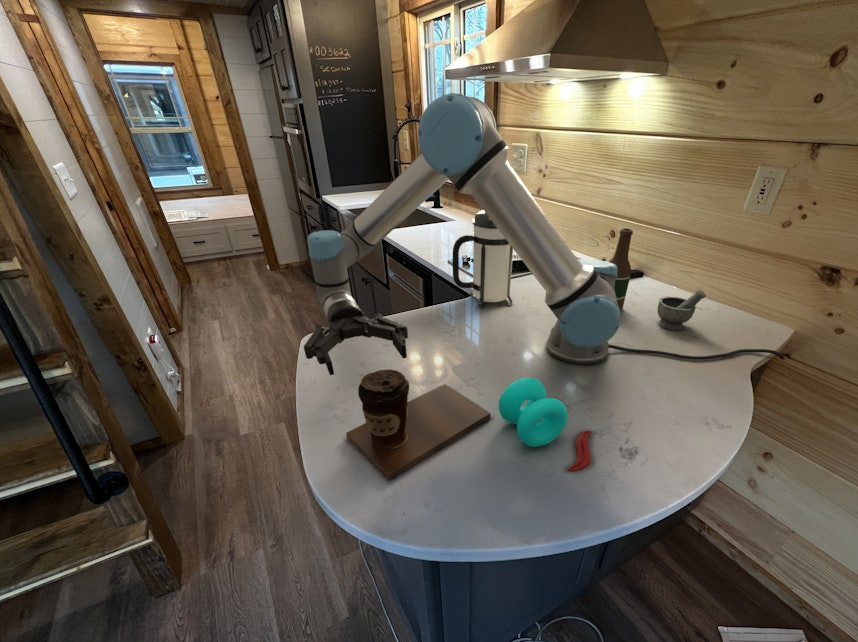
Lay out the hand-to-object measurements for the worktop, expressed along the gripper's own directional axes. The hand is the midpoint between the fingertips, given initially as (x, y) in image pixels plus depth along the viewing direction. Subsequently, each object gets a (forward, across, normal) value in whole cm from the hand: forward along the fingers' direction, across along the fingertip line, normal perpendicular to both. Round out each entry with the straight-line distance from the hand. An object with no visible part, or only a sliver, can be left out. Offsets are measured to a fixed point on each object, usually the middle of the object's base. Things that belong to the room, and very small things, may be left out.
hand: (368, 360), depth 74 cm
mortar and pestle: (-4, -89, -14) cm, 90 cm away
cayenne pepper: (+26, -31, -14) cm, 42 cm away
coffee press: (-43, -48, -13) cm, 66 cm away
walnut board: (+7, -7, -13) cm, 16 cm away
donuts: (+17, -25, -14) cm, 33 cm away
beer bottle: (-22, -81, -14) cm, 85 cm away
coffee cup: (+9, 0, -12) cm, 15 cm away
